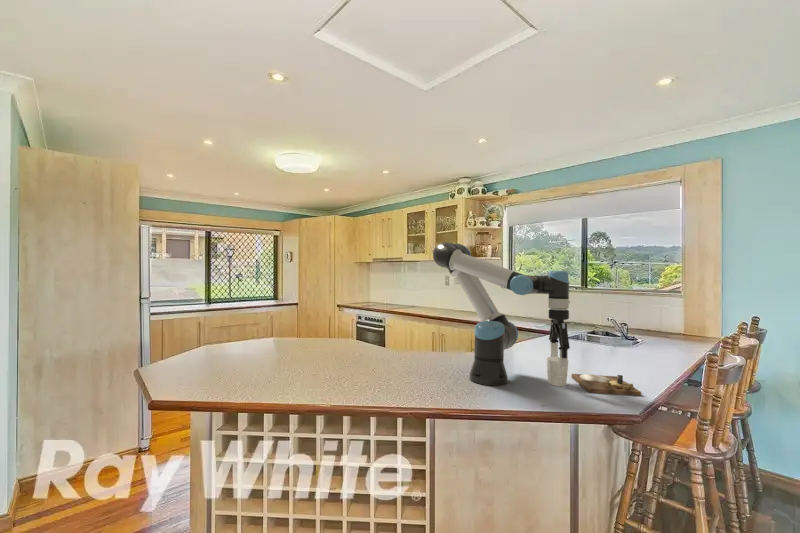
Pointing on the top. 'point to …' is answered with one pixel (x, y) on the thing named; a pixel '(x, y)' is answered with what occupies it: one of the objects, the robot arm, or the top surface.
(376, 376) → the top surface
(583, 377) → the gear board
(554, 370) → the white cup
